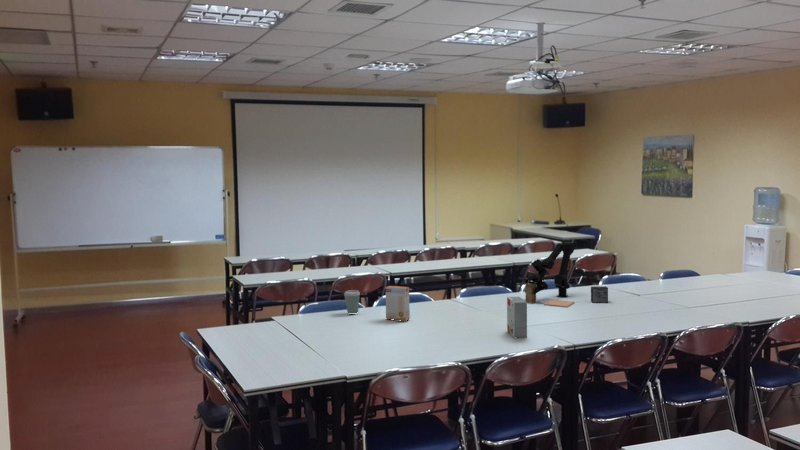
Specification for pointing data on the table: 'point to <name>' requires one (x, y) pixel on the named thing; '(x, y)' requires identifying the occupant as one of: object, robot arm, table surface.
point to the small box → (599, 294)
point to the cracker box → (397, 303)
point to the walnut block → (530, 293)
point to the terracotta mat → (559, 303)
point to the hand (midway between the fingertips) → (529, 293)
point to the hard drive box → (517, 316)
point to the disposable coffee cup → (352, 300)
